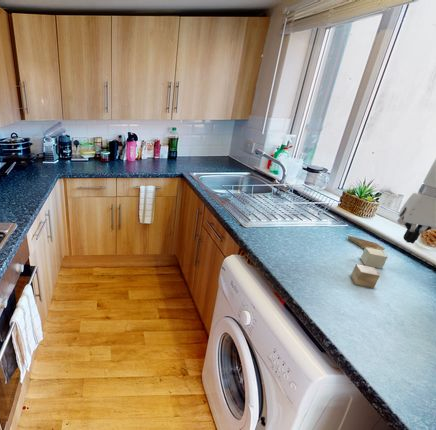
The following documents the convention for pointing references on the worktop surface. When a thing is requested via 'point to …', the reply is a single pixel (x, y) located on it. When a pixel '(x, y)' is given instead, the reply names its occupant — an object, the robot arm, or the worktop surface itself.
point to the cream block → (373, 257)
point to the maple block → (365, 276)
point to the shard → (366, 243)
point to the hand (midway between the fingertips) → (408, 241)
